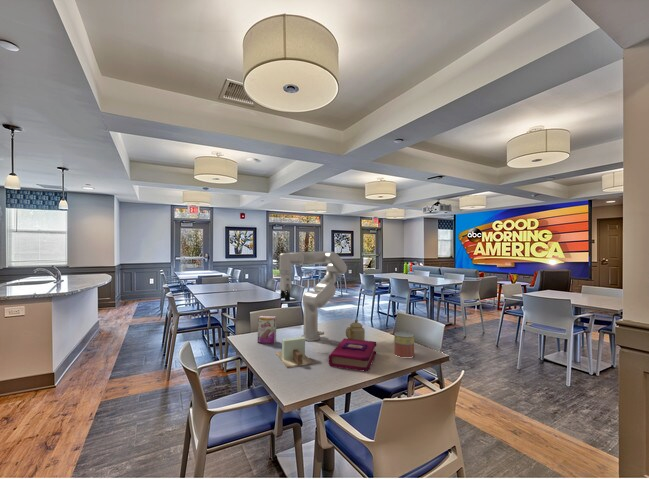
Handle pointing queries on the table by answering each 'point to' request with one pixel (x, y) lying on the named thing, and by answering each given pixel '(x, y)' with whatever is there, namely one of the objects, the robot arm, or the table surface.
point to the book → (353, 354)
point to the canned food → (404, 344)
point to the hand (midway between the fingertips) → (285, 299)
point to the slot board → (295, 359)
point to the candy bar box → (267, 329)
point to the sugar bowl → (355, 331)
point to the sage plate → (292, 347)
